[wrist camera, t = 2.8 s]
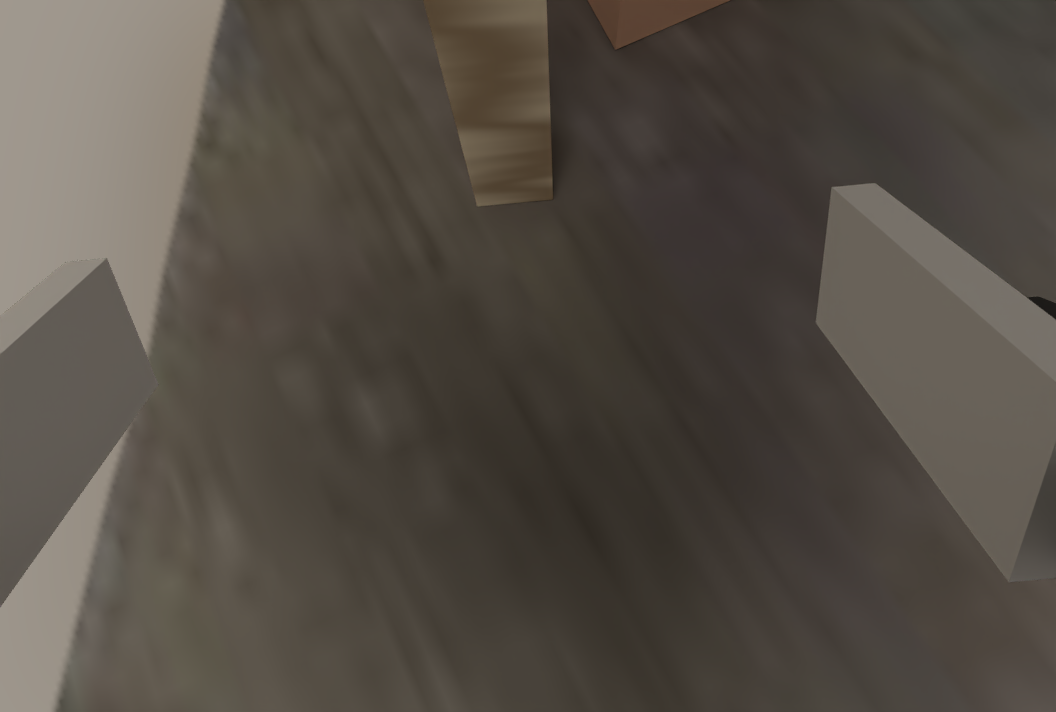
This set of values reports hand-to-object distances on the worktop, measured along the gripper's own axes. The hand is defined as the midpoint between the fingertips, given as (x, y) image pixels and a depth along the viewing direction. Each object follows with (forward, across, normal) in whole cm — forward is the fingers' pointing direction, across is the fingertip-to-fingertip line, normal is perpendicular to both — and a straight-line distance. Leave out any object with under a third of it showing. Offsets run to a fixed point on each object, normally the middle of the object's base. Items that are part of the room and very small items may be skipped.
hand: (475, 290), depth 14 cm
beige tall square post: (+17, +1, -3) cm, 17 cm away
